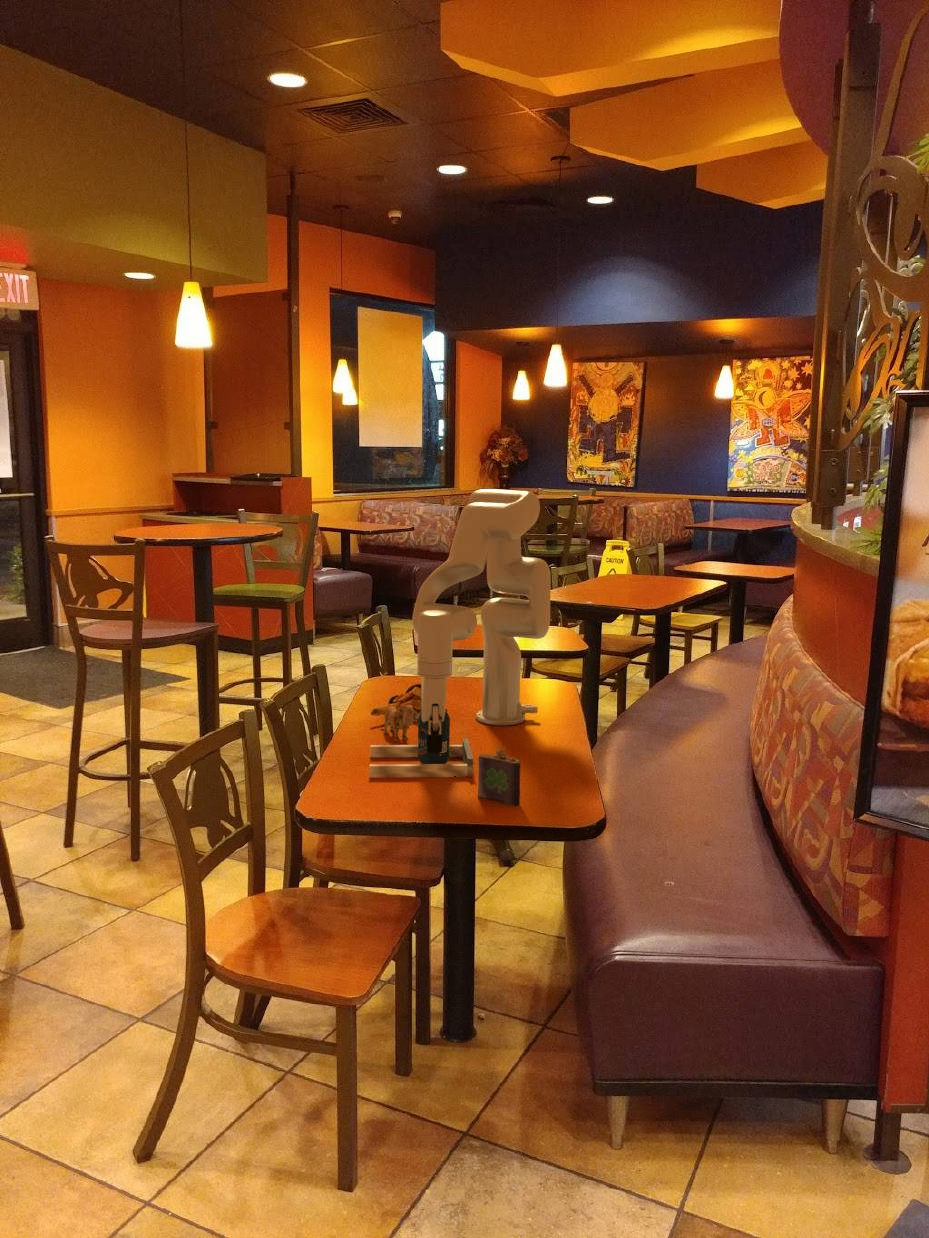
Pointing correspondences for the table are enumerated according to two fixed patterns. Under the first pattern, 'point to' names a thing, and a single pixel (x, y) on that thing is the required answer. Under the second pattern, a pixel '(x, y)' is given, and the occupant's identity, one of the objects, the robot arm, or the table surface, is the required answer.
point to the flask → (499, 778)
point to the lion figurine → (399, 720)
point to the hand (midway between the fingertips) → (433, 746)
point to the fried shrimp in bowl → (403, 701)
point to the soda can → (422, 742)
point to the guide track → (420, 769)
